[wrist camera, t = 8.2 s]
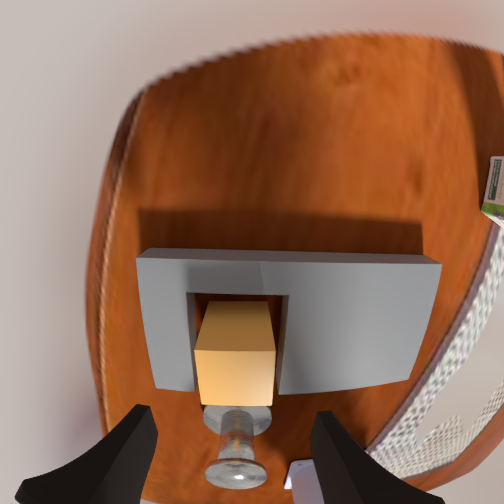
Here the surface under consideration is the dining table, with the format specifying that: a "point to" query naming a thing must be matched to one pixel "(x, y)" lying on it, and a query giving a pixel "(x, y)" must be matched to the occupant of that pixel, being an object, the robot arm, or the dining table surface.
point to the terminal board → (295, 312)
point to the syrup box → (495, 191)
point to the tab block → (236, 354)
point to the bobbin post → (236, 445)
